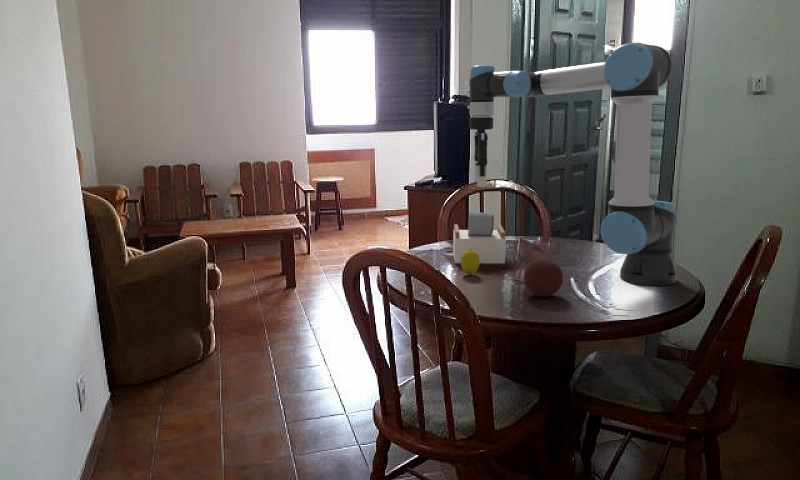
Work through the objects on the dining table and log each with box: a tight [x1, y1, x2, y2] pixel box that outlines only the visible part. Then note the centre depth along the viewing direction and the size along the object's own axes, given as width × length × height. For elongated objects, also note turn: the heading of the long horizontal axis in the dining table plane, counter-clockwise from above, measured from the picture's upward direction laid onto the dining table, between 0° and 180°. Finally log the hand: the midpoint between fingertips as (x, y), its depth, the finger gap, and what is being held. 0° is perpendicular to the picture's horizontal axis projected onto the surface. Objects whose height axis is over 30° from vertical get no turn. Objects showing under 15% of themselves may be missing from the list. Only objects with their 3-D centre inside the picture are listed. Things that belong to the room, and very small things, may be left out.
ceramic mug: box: [467, 211, 495, 236], centre depth 205 cm, size 11×8×8 cm
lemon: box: [460, 249, 480, 276], centre depth 187 cm, size 6×6×8 cm
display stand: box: [452, 223, 507, 264], centre depth 207 cm, size 14×16×10 cm
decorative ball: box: [523, 258, 564, 298], centre depth 166 cm, size 10×10×10 cm
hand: (480, 183), depth 202 cm, fingers open, 13 cm apart
